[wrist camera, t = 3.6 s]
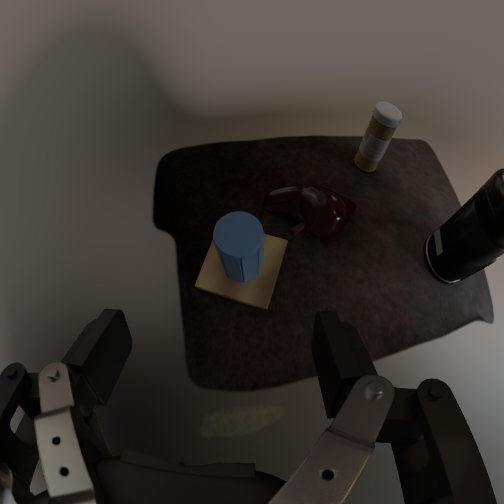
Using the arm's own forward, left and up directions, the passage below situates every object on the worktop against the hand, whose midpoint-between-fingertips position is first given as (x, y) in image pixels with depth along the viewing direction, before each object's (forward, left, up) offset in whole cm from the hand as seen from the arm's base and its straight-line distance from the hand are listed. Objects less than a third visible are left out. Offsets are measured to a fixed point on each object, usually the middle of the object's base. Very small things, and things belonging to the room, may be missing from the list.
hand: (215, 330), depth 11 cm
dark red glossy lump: (-3, -22, -25) cm, 33 cm away
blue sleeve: (+4, -11, -23) cm, 26 cm away
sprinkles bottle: (-11, -36, -25) cm, 45 cm away
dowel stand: (+4, -11, -25) cm, 27 cm away
